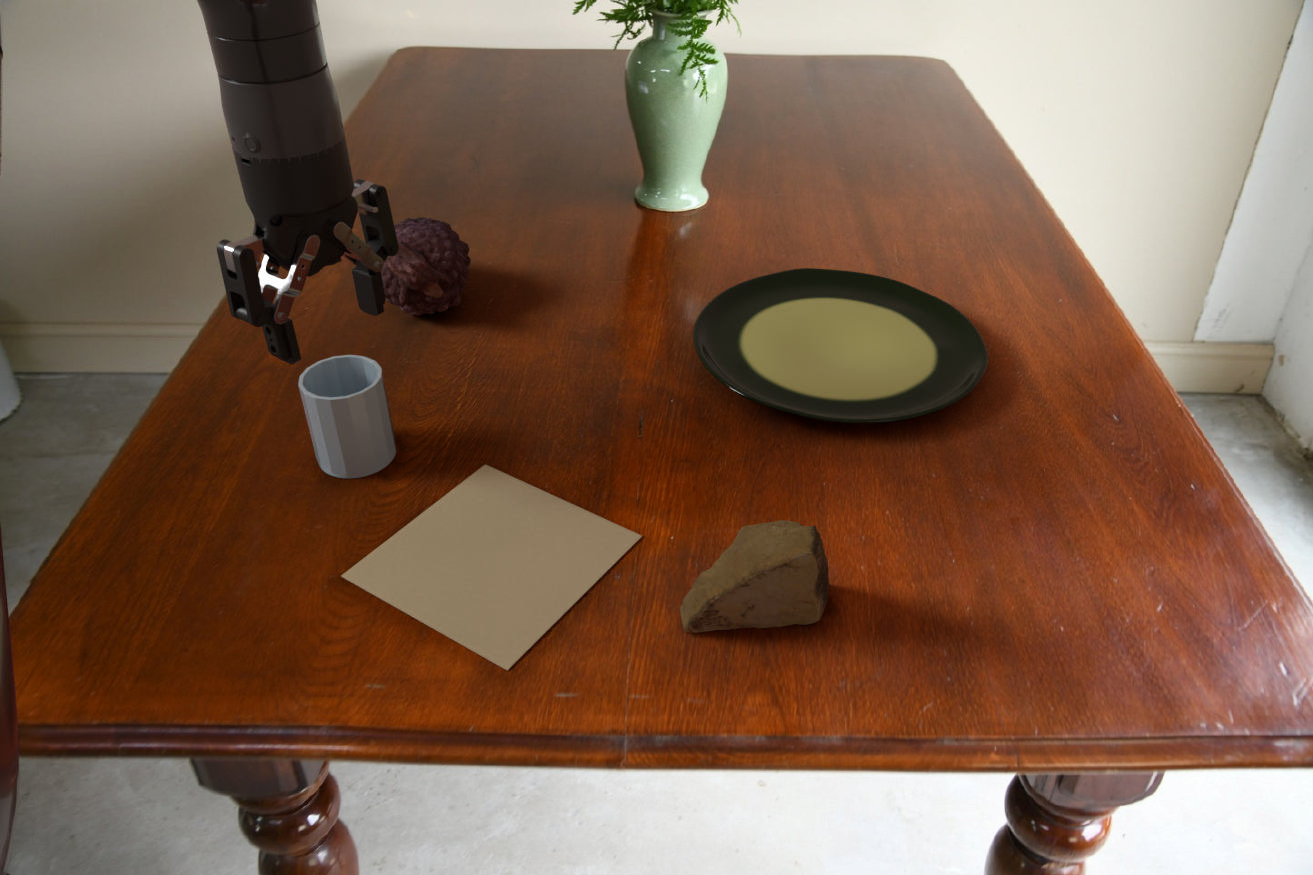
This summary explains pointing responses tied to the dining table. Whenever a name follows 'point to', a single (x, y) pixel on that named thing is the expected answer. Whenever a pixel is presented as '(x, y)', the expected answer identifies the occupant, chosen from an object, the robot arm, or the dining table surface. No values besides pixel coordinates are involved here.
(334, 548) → the dining table surface
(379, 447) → the cup
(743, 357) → the plate
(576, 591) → the mat
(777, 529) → the rock
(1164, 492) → the dining table surface
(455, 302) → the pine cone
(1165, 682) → the dining table surface
